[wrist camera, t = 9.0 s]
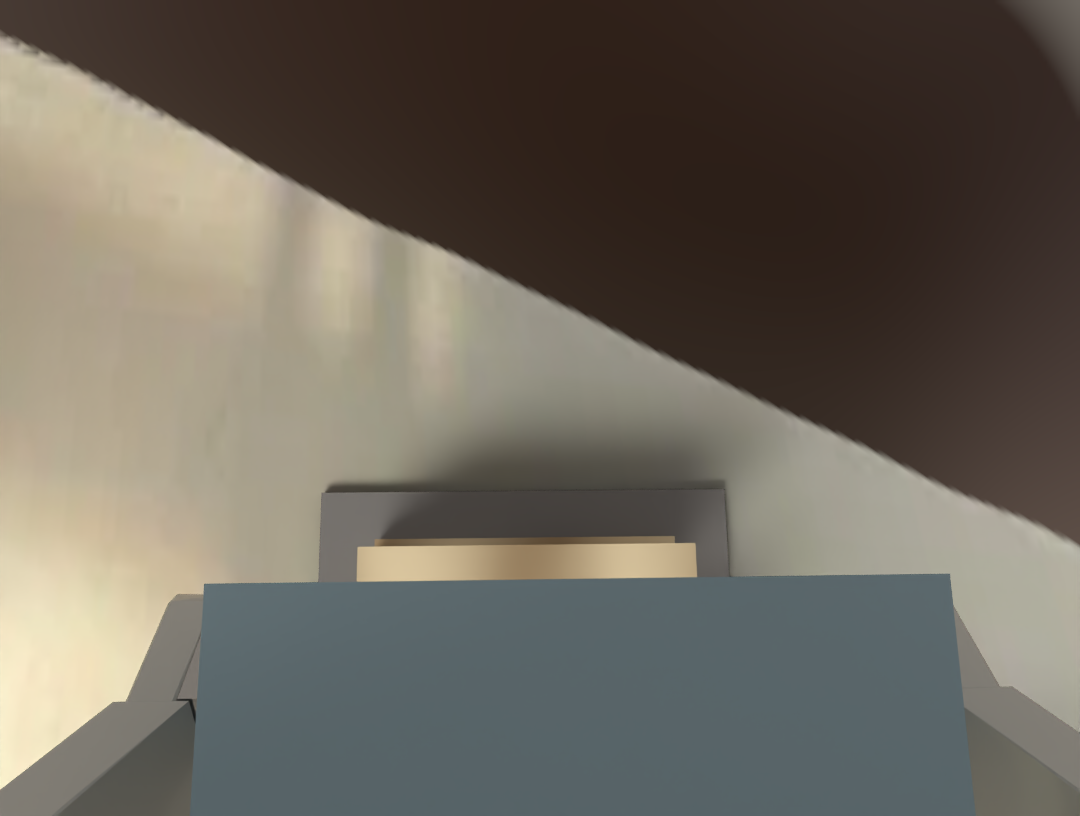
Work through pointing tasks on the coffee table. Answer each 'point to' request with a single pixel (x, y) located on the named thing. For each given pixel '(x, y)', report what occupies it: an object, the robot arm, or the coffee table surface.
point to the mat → (520, 520)
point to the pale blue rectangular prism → (582, 698)
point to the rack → (525, 558)
